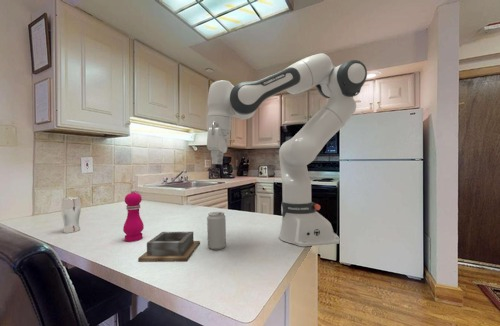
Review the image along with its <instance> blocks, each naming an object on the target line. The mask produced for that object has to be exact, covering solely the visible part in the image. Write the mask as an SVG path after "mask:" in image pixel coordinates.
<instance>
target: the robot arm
mask: <svg viewBox="0 0 500 326" xmlns="http://www.w3.org/2000/svg"><path fill="white" fill-rule="evenodd" d="M367 70H368V69H367V66H366V64H364V63H363V61H360V60H357V59H351V60H347V61H345V62H343V63H342V64H339V65H337V66H335V65H334V64H333V61H332V59H331V57H330V56H328V55H327V54H325V53H323V52H321V53H317V54H313V55H310V56H307V57H304V58H302V59H300V60H298V61H296V62H294V63H292V64H291V65H289V66H287V67H285V68H284V69H282V70H280V71H277V72H275V73H273V74H270V75H268V76H266V77H264V78H262V79H258V80H255V81H254V80H252V81H241V82H239V83H237V84H235V85H233V84H232V82H230V81H229V80H225V79H221V80H215V81H214V82H212V83H211V84H210V86H209V88H208V96H207V108H208V109H207V110H208V112H207V115H206V129H205V130H206V131H207V139H206V148H207V150H210V156H211V164H212V165H222V164H223V159H224V154H227V151H228V145H229V136H230V135H231V131H232V118H234V119H237V120H240V121H241V120H242V121H243V120H244V121H245V120H249V119H252V117H253V116H254V115H255V113H256V112H257V109H259V107H260V106H261V104H262V103H263V102H264V101H266V100H267V99H270V98H271V97H274V96H276V95H278V94H280V93H282V92H285V91H286V92H287V93H289V94H290V95H299V94H302V93H304V92H306V91H308V90H311V89H313V88H314V87H315V88H317V91H318V94H320V96H322V97H323V98H326V99H328V100H327V102H326V104H325V105H324V106H322V107H321V108H320V109H319V110H318V111H317V112H316V113H315V114H314V115H313V116H311V118H309V120H307V121H306V122H305V124H303V126H302V128H300V130H299V131H297V133H295V135H294V136H292V137H291V138H290V139H287V141H284V142H282V145H281V146H280V147H279V151H278V156H279V167H280V174H281V185H282V186H281V188H282V189H281V190H282V194H281V195H282V201H281V204H280V205H281V206H280V208H281V209H280V211H281V216H282V217H281V225H280V231H279V235H278V238H279V239H280V240H281V241H283V242H284V243H289V244H293V245H296V246H298V247H302V248H303V247H314V246H316V247H317V246H325V245H337V244H340V243H341V238H340V237H339V235H337V233H335V232H334V229H333V226H332V223H331V222H330V221H329V220H328V219H327V218H325V216H323V215H322V214H321V213H319V212H318V211H320V209H321V205H320V204H318V203H316V202H313V201H312V181H311V179H310V174H309V172H308V171H309V170H308V169H309V168H308V165H309V164H311V163H312V162H314V161H315V159H316V158H317V156H318V155H319V153H320V152H321V151H322V149H323V148H324V147H325V145H327V143H328V142H329V140H331V139H332V137H334V136H335V135H336V133H338V132H339V131H340V130H341V129H342V128H343V127H344V126H346V124H347V123H348V121H349V120H350V119H351V117H352V116H353V115H354V113H355V112H356V109H357V102H356V101H355V99H354V97H357V96H358V95H359V94H360V93H361V90H362V87H363V86H364V84H365V82H366V80H367V76H368V71H367Z"/></svg>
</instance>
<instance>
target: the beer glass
mask: <svg viewBox="0 0 500 326" xmlns="http://www.w3.org/2000/svg"><path fill="white" fill-rule="evenodd" d="M60 203H61V206H60V210H61V211H60V212H61V215H62V216H61V217H62V220H63V229H62V234H72V233H77V232H79V231H80V230H81V229H80V215H81V212H82V211H81V210H82V203H81V197H79V196H77V197H75V196H73V197H64V198H61V202H60Z"/></svg>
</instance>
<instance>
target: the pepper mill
mask: <svg viewBox="0 0 500 326" xmlns="http://www.w3.org/2000/svg"><path fill="white" fill-rule="evenodd" d="M124 197H125V198H124V203H125V204H126V206H125V207H126V210H127V216H126V220H125V222H124V224H123V228H122V231H123V233H124V234H125V235H124V241H125V242H132V243H133V242H137V241H139V240H142V239H143V233H142V232H143V230H144V229H145V228H144V227H145V226H144V222H143V220H142V218H141V215H140V209H141V203H142V201H143V199H142V198H143V197H142V195H141V193H140V194H139V193H137V192H136V189H135V188H132V189H131V190H130V193H128V194H127V195H125V196H124Z"/></svg>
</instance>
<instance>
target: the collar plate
mask: <svg viewBox="0 0 500 326" xmlns="http://www.w3.org/2000/svg"><path fill="white" fill-rule="evenodd" d="M200 242H201V241H200V240H194V231H162V232H160V233H159V234H157V235H156V236H155V237H153V238H151V240H148V241H147V242H146V252H144V253H143V254H142V255H140V256H139V257H138V259H137V261H138V262H140V263H141V262H143V263H144V262H148V263H149V262H150V263H151V262H188V261H189V260H190V258H191V257H192V255H193V254H194V252H195V251H196V249H197V248H198V247H199V246H200V244H201V243H200Z"/></svg>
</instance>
